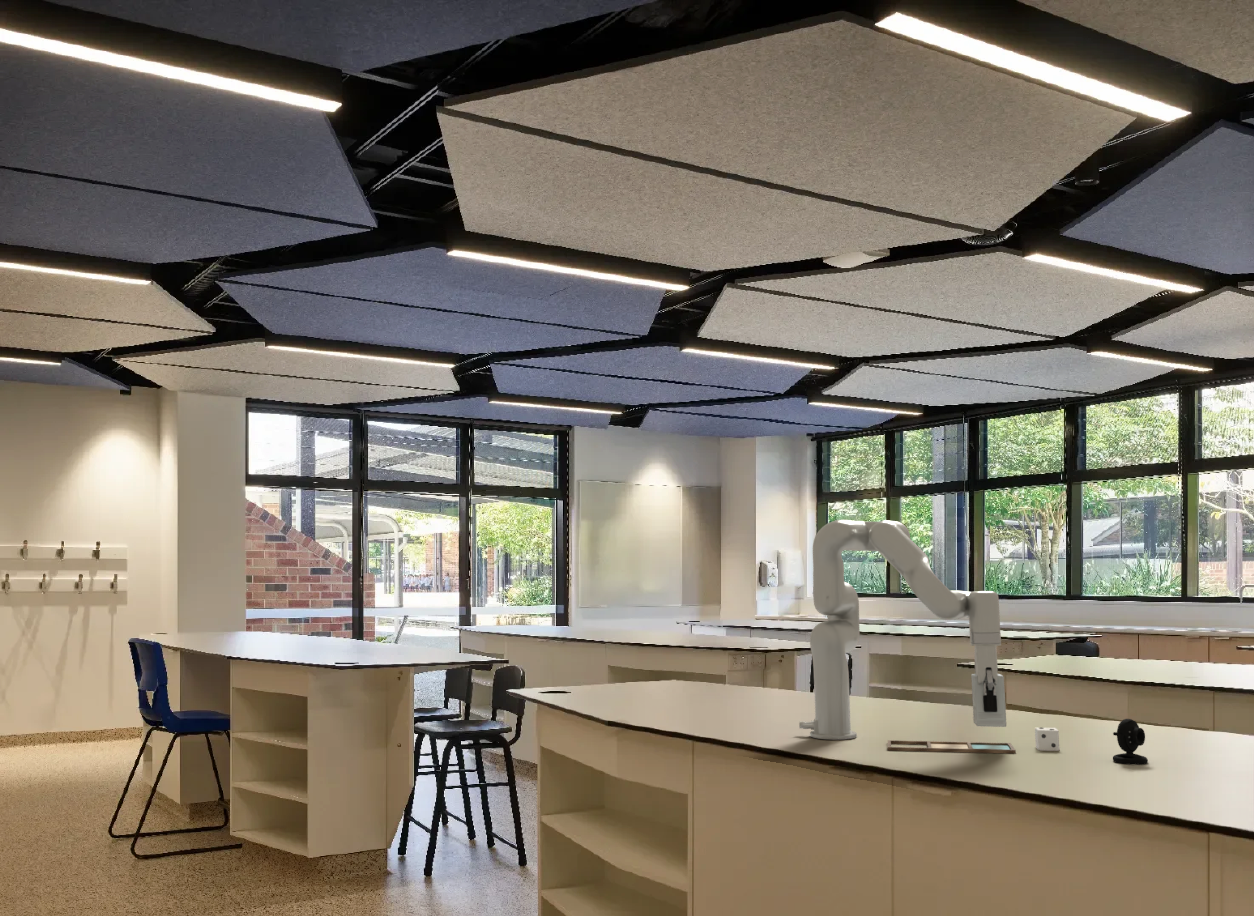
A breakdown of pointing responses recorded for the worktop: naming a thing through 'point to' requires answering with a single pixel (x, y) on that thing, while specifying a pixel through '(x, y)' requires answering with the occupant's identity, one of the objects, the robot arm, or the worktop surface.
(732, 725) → the worktop surface
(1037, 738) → the die
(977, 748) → the board
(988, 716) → the supplement box
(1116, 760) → the webcam
